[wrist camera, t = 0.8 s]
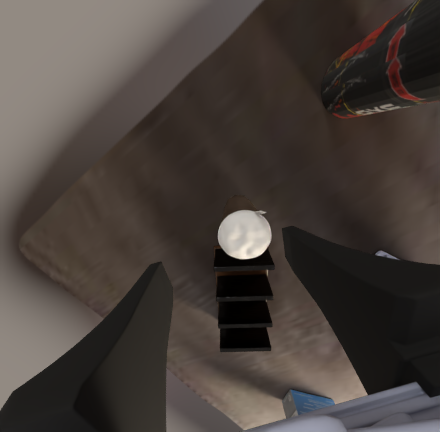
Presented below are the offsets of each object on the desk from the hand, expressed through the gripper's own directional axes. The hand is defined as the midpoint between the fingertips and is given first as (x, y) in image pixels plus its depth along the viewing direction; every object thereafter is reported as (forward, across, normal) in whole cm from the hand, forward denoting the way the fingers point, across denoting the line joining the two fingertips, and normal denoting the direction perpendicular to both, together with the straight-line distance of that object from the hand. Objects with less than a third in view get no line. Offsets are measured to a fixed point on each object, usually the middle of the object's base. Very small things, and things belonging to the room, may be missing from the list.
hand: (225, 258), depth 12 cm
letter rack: (+12, -1, +14) cm, 19 cm away
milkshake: (+13, -3, +3) cm, 14 cm away
